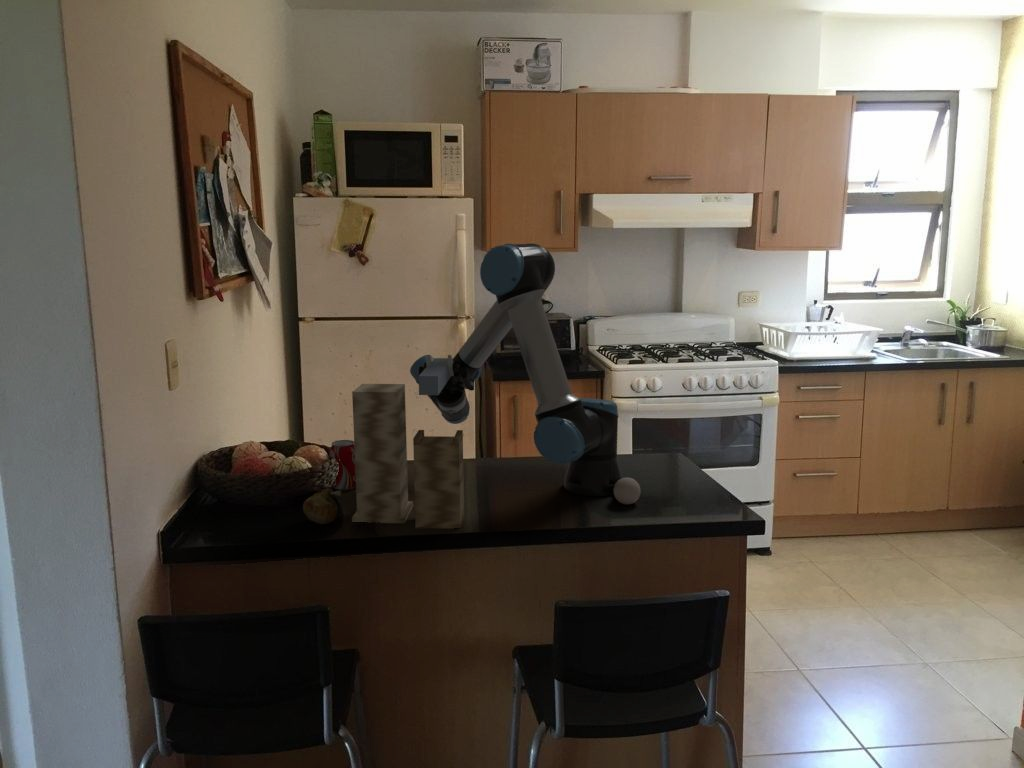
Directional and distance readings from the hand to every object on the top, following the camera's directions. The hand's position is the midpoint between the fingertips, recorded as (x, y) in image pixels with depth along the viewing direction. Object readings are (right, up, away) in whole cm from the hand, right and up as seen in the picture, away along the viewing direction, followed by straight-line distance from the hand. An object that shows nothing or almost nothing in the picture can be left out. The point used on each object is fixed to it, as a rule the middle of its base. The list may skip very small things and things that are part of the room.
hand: (438, 360), depth 187 cm
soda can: (-27, -32, +28) cm, 50 cm away
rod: (0, -5, -3) cm, 6 cm away
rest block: (0, -37, +2) cm, 37 cm away
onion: (-27, -37, +2) cm, 46 cm away
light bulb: (+44, -34, +17) cm, 58 cm away
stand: (-14, -36, +8) cm, 39 cm away
